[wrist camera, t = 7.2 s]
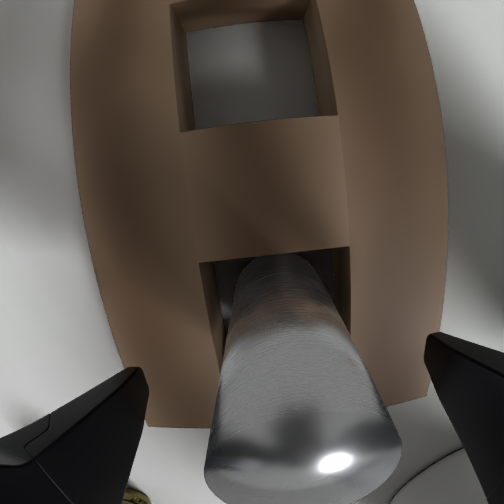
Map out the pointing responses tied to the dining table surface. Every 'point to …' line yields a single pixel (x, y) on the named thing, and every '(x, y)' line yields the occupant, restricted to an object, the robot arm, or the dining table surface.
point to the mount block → (259, 187)
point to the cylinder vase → (444, 484)
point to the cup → (135, 497)
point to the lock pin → (294, 397)
